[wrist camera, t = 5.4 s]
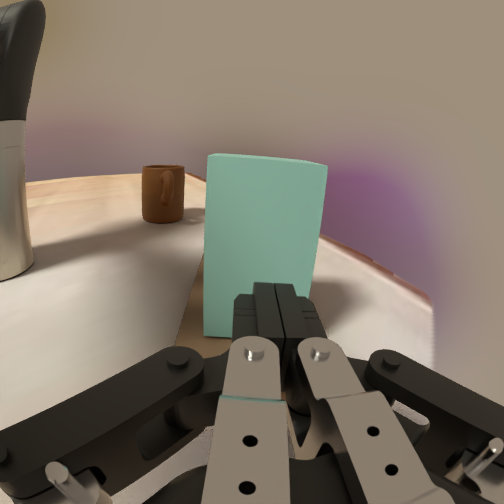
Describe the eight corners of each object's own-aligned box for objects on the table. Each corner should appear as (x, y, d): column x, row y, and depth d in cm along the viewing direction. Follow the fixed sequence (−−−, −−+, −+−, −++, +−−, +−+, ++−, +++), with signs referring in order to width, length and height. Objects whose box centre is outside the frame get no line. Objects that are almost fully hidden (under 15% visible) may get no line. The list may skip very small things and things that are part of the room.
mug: (192, 230, 46) (195, 170, 42) (144, 233, 42) (144, 171, 39) (179, 212, 56) (181, 164, 52) (141, 214, 53) (141, 165, 49)
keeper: (300, 339, 19) (328, 166, 15) (203, 335, 19) (208, 155, 15) (289, 302, 24) (308, 161, 20) (210, 298, 23) (216, 153, 19)
